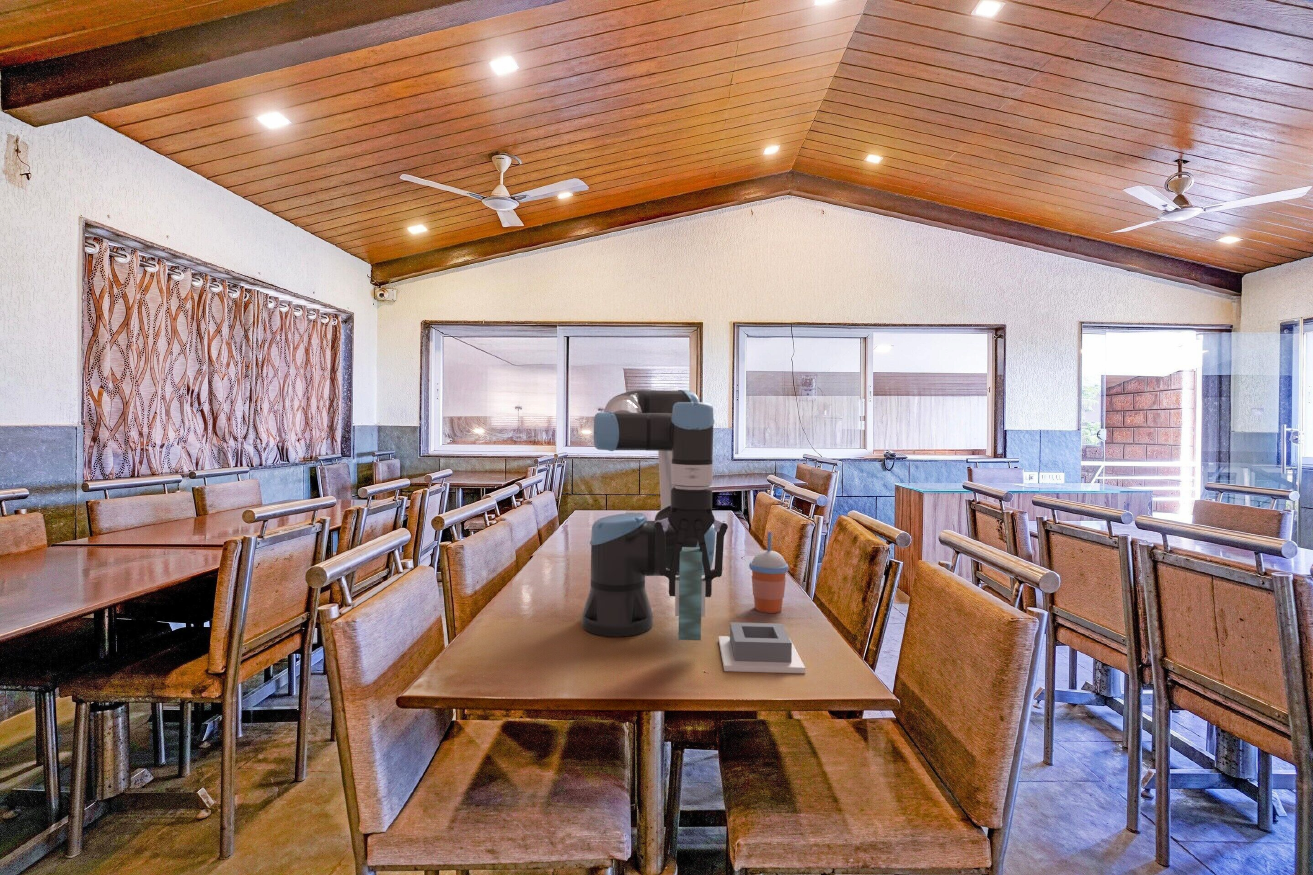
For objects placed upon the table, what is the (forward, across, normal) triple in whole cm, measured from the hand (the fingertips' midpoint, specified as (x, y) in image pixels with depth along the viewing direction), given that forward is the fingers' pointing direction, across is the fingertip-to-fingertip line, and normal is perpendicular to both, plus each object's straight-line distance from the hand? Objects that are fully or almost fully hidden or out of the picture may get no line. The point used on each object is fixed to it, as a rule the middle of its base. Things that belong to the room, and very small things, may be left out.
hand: (689, 613), depth 107 cm
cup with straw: (+9, +19, +30) cm, 36 cm away
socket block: (+8, +13, +2) cm, 15 cm away
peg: (+4, 0, 0) cm, 4 cm away
